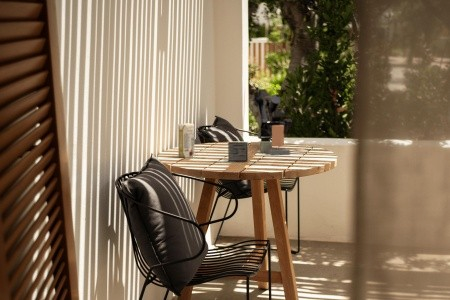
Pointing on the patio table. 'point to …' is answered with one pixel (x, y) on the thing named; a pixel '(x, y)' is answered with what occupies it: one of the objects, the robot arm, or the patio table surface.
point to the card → (299, 150)
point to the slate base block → (278, 151)
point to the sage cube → (264, 146)
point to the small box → (237, 151)
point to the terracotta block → (278, 135)
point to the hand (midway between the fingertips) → (278, 134)
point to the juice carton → (186, 140)
